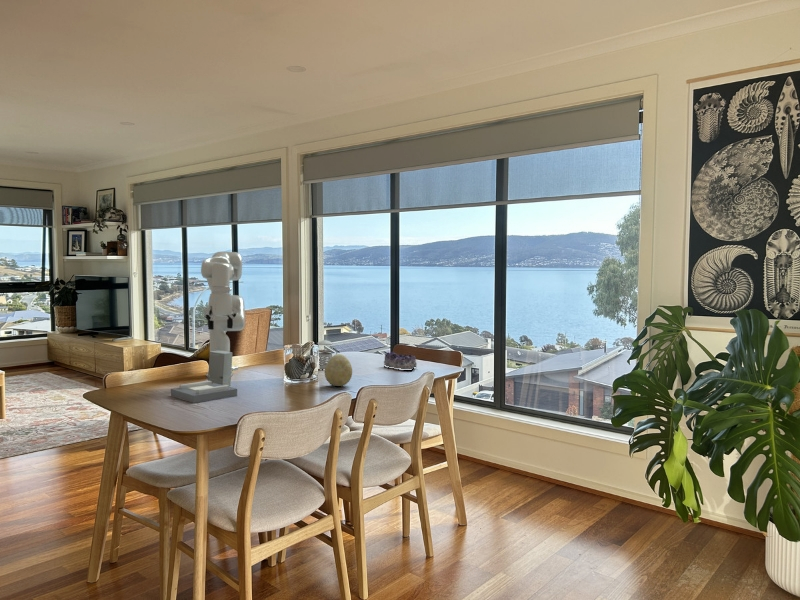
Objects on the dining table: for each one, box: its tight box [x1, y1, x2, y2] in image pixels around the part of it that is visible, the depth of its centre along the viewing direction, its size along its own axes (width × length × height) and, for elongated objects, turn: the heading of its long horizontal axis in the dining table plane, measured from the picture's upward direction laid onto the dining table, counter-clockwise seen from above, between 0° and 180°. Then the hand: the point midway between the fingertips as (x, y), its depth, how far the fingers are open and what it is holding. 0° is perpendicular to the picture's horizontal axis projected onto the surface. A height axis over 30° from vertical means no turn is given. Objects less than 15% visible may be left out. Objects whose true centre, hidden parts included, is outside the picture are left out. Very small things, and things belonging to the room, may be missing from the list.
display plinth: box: [170, 380, 238, 404], centre depth 258 cm, size 20×18×4 cm
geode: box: [383, 351, 417, 370], centre depth 337 cm, size 20×12×10 cm, turn 59°
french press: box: [317, 321, 338, 369], centre depth 331 cm, size 10×12×25 cm
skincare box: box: [207, 351, 233, 387], centre depth 278 cm, size 8×7×16 cm
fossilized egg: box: [324, 353, 353, 387], centre depth 284 cm, size 13×13×15 cm
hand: (220, 328), depth 277 cm, fingers open, 9 cm apart
